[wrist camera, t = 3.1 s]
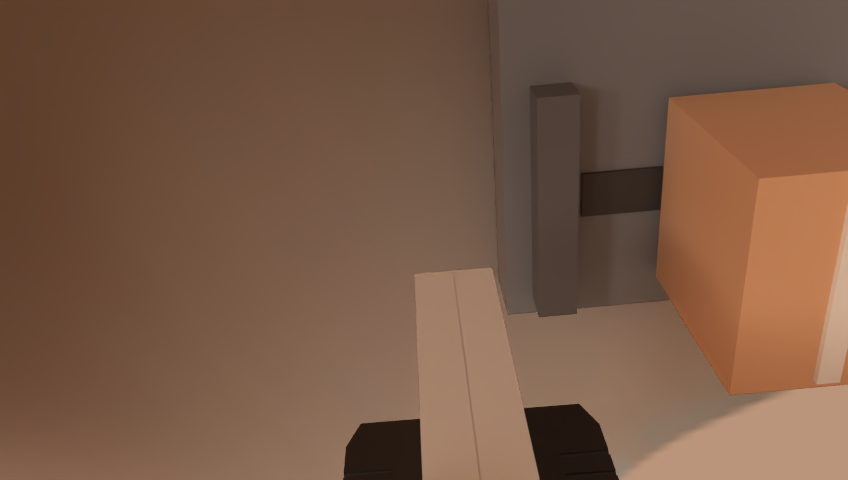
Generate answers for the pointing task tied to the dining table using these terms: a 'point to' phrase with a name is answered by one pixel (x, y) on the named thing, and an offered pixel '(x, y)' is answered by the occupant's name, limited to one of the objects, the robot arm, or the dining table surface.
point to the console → (620, 125)
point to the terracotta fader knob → (760, 233)
